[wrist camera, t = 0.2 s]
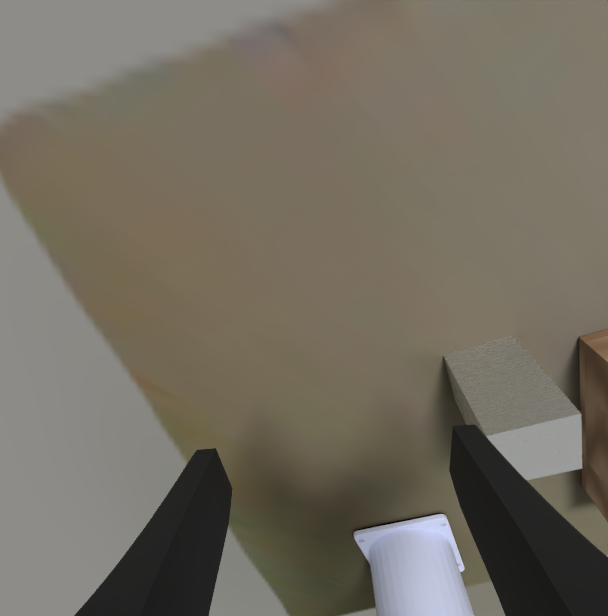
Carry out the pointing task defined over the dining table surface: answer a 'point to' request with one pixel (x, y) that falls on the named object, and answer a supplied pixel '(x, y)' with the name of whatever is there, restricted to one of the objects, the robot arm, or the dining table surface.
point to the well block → (594, 416)
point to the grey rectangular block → (516, 407)
